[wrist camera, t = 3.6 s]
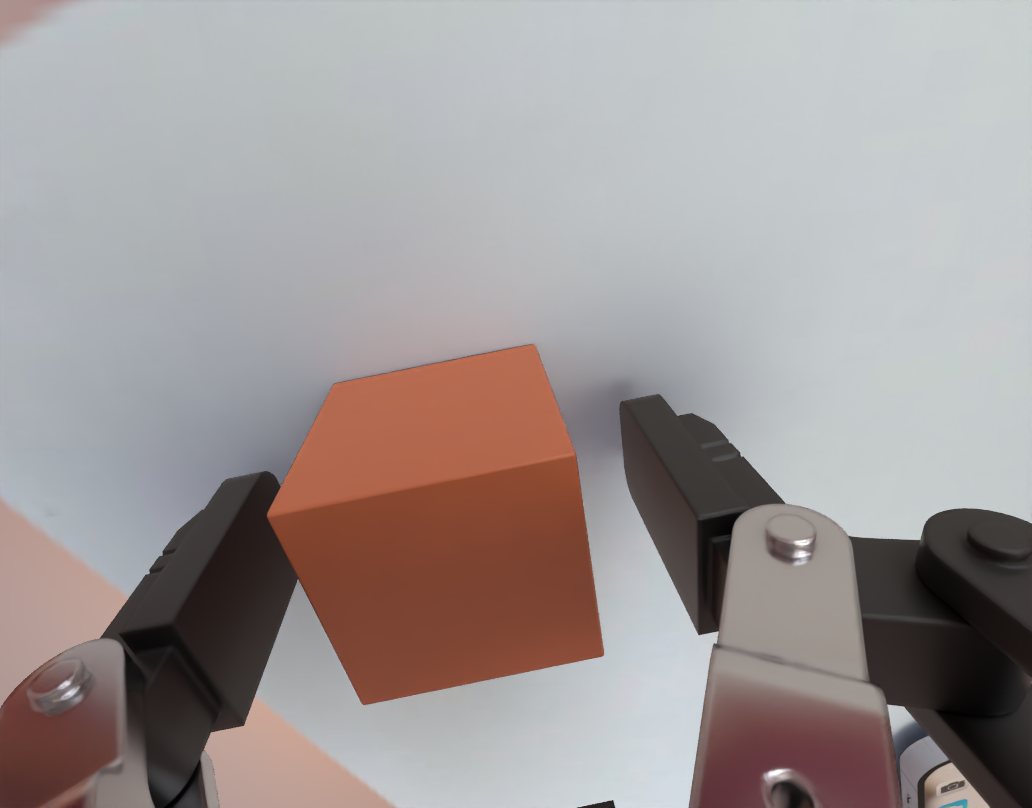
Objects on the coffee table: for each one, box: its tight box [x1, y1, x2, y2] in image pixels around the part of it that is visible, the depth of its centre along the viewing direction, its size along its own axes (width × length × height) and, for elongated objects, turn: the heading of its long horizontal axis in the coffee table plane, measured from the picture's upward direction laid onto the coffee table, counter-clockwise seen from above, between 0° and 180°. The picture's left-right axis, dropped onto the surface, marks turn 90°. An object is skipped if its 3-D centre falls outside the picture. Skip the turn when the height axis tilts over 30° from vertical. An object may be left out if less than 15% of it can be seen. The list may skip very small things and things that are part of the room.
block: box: [267, 344, 604, 705], centre depth 9 cm, size 4×4×4 cm
